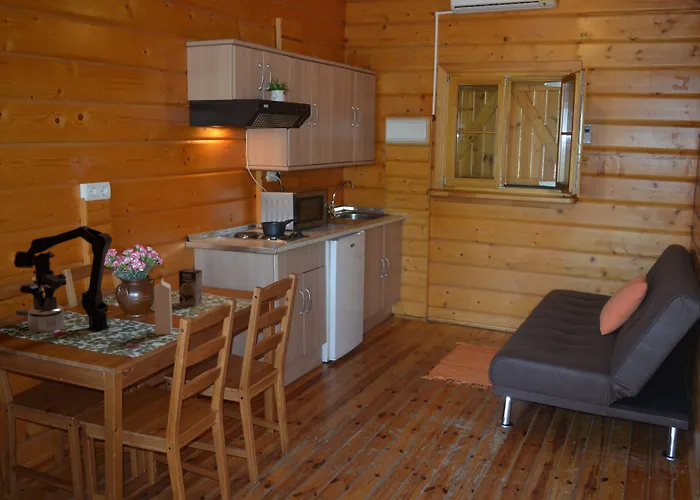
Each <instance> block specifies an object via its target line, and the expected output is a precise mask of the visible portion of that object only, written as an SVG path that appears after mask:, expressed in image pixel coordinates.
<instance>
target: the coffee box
mask: <svg viewBox="0 0 700 500" xmlns="http://www.w3.org/2000/svg"><path fill="white" fill-rule="evenodd" d="M178 290H179V295H178V296H179V297H178V298H179V299H178V300H179V305H182V306H183V305H184V306H191V305H192V306H194V307H197V306H199V305H202V304H203V270H202V269H201V270H200V269H192V268H191V269H189V268H185V269H181V270H179V271H178ZM201 303H202V304H201Z"/></svg>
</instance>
